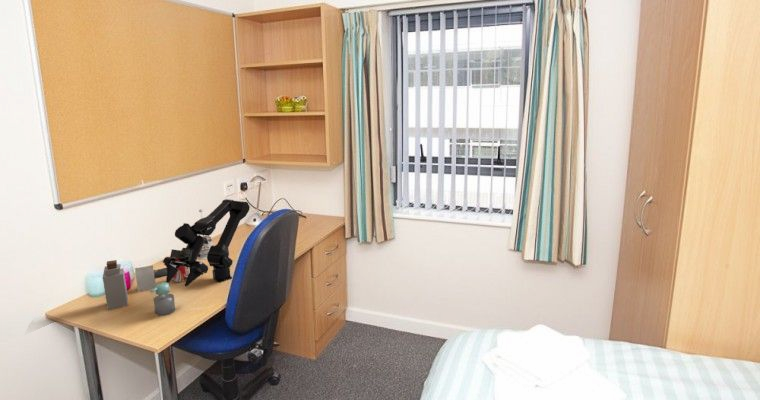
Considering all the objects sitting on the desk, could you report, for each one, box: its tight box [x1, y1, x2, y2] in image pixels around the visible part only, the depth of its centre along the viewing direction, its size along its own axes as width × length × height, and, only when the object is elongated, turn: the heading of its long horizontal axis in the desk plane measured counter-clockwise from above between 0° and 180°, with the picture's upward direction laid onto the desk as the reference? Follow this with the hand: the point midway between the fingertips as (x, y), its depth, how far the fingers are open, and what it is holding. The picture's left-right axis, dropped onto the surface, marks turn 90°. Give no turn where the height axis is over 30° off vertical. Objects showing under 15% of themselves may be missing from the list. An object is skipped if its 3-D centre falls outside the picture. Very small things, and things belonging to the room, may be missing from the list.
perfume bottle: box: [102, 259, 129, 310], centre depth 174 cm, size 7×7×18 cm
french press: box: [196, 208, 214, 260], centre depth 226 cm, size 10×12×25 cm
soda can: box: [172, 257, 190, 283], centre depth 198 cm, size 7×7×12 cm
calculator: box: [153, 267, 167, 279], centre depth 208 cm, size 9×12×3 cm
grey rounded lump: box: [153, 293, 176, 317], centre depth 170 cm, size 7×7×6 cm
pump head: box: [150, 281, 170, 298], centre depth 167 cm, size 7×5×5 cm, turn 160°
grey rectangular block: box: [134, 264, 156, 293], centre depth 190 cm, size 4×7×10 cm, turn 117°
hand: (176, 284), depth 175 cm, fingers open, 9 cm apart
